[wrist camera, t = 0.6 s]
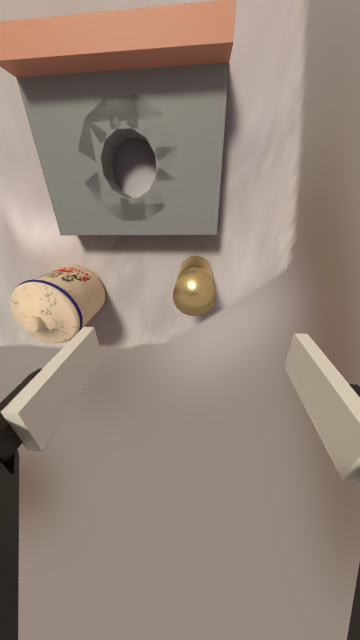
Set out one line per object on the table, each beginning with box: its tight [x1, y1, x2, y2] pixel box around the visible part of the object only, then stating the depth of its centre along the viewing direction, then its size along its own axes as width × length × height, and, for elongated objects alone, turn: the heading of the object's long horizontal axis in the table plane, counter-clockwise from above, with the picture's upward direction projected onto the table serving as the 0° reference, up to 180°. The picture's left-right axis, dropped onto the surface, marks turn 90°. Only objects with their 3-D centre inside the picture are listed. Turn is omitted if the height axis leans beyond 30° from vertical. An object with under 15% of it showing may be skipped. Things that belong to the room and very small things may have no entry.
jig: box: [0, 0, 236, 235], centre depth 22 cm, size 20×16×6 cm
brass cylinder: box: [173, 256, 216, 316], centre depth 26 cm, size 5×5×10 cm
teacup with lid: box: [10, 265, 105, 343], centre depth 29 cm, size 12×9×12 cm
